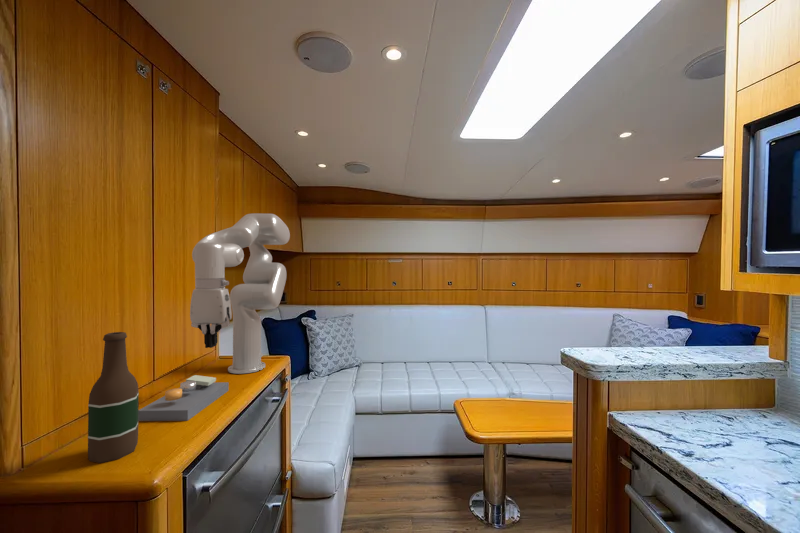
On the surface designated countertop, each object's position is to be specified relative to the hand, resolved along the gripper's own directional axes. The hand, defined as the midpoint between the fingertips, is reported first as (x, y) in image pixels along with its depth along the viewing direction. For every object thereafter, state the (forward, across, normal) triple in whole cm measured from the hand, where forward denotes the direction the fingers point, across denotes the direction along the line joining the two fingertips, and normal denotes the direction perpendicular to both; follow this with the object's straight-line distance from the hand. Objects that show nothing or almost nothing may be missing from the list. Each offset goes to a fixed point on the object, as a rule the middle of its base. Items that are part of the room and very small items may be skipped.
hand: (211, 346), depth 97 cm
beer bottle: (+13, +2, +31) cm, 34 cm away
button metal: (+10, +2, +7) cm, 12 cm away
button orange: (+10, +2, +13) cm, 17 cm away
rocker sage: (+10, +2, +1) cm, 10 cm away
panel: (+14, +2, +7) cm, 16 cm away
